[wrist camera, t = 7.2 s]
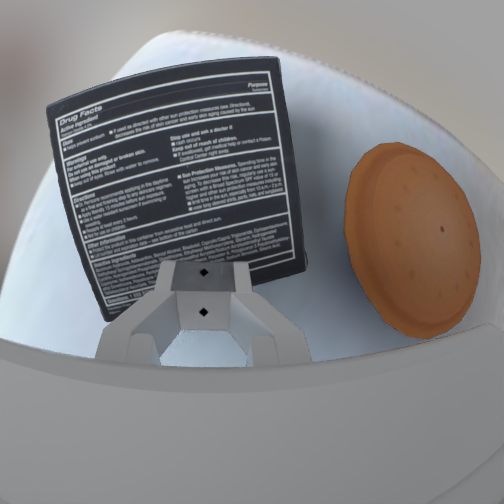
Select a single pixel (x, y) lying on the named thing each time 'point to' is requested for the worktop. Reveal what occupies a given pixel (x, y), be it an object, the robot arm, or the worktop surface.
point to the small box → (179, 175)
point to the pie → (411, 240)
